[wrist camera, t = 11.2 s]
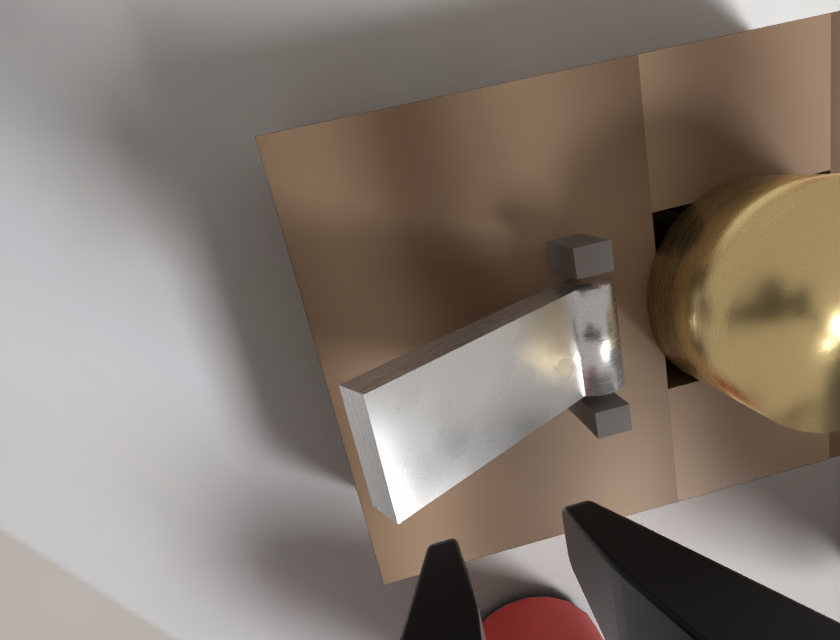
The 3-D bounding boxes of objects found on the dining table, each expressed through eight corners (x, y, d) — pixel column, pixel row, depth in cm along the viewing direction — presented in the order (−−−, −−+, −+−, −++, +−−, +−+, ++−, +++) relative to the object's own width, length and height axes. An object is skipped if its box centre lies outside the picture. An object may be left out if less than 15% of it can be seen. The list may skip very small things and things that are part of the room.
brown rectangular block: (763, 45, 19) (980, -30, 12) (773, 388, 23) (944, 469, 16) (280, 150, 18) (241, 128, 11) (376, 496, 21) (388, 630, 15)
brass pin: (565, 198, 19) (722, 206, 11) (722, 162, 20) (983, 144, 12) (586, 355, 21) (735, 460, 13) (730, 318, 22) (961, 397, 13)
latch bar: (575, 274, 15) (625, 276, 14) (587, 368, 16) (636, 377, 15) (338, 384, 11) (380, 401, 9) (373, 506, 12) (414, 536, 10)
